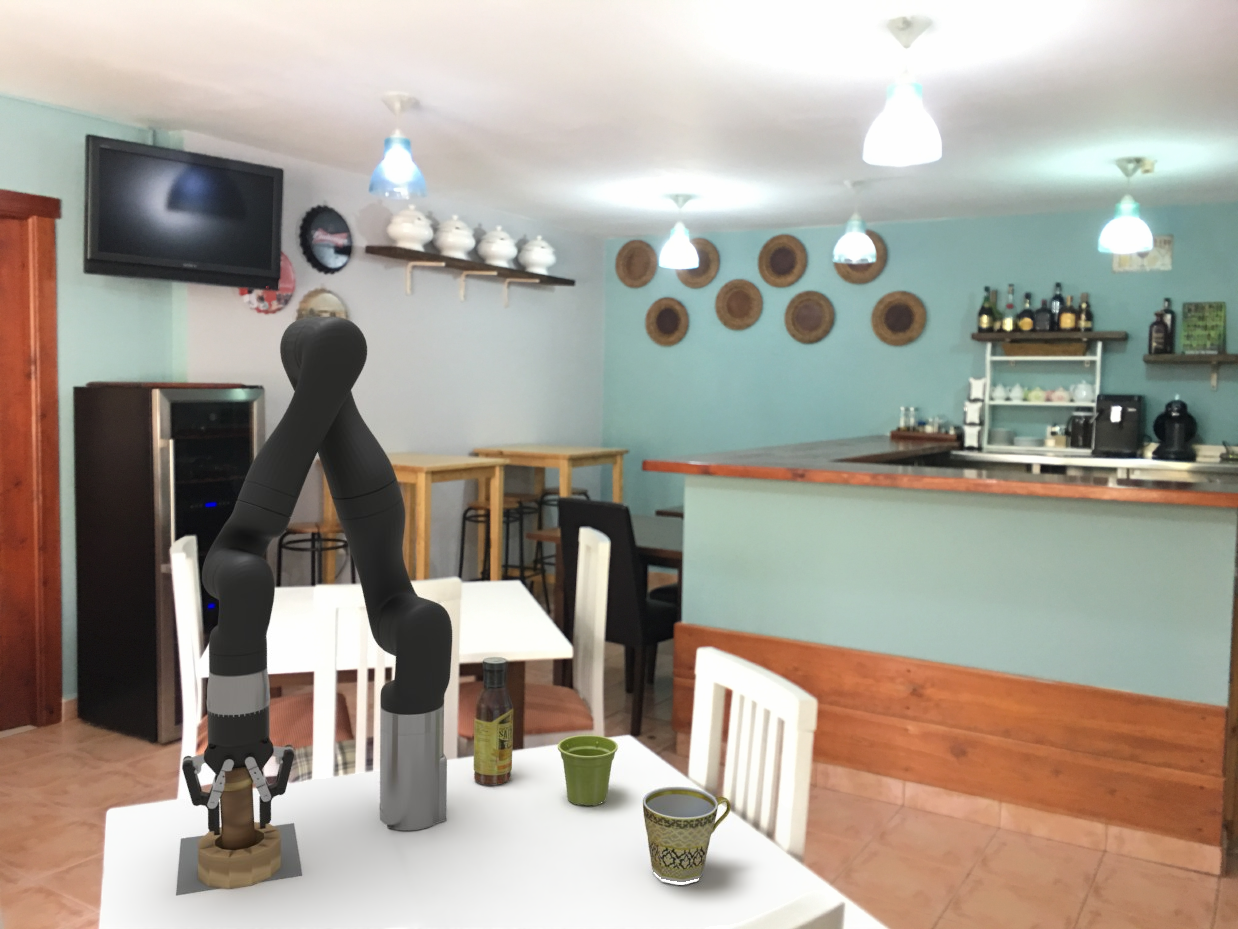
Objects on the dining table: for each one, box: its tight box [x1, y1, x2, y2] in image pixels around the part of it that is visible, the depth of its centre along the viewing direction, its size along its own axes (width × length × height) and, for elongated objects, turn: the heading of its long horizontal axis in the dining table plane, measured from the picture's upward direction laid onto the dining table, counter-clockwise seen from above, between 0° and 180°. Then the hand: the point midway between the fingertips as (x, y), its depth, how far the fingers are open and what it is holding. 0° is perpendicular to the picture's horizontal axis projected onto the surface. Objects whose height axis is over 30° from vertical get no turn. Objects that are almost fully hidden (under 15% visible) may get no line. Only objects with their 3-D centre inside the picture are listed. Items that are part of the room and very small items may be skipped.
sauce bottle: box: [473, 656, 514, 786], centre depth 161 cm, size 7×6×20 cm
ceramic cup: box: [642, 786, 731, 882], centre depth 133 cm, size 13×10×10 cm
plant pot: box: [557, 734, 619, 806], centre depth 155 cm, size 9×9×9 cm
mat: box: [175, 822, 303, 896], centre depth 133 cm, size 15×16×1 cm
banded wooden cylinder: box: [219, 767, 255, 850], centre depth 129 cm, size 4×4×14 cm
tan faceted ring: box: [198, 821, 281, 890], centre depth 130 cm, size 10×10×4 cm
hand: (239, 829), depth 129 cm, fingers open, 5 cm apart
